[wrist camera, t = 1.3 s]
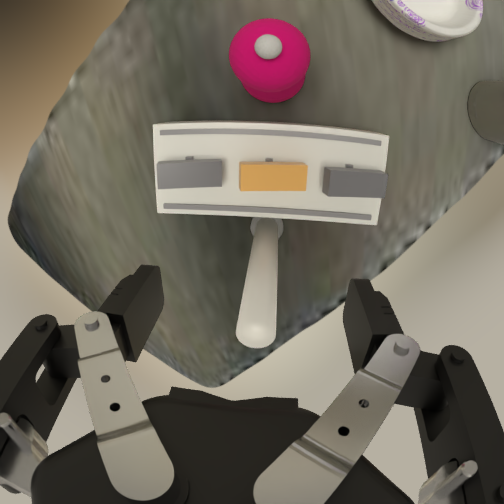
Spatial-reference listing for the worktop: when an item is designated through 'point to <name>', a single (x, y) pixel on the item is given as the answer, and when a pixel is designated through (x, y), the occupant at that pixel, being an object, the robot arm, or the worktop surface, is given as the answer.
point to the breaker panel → (269, 150)
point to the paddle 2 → (354, 182)
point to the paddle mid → (272, 176)
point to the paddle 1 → (189, 173)
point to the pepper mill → (270, 59)
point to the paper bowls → (433, 17)
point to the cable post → (260, 285)
